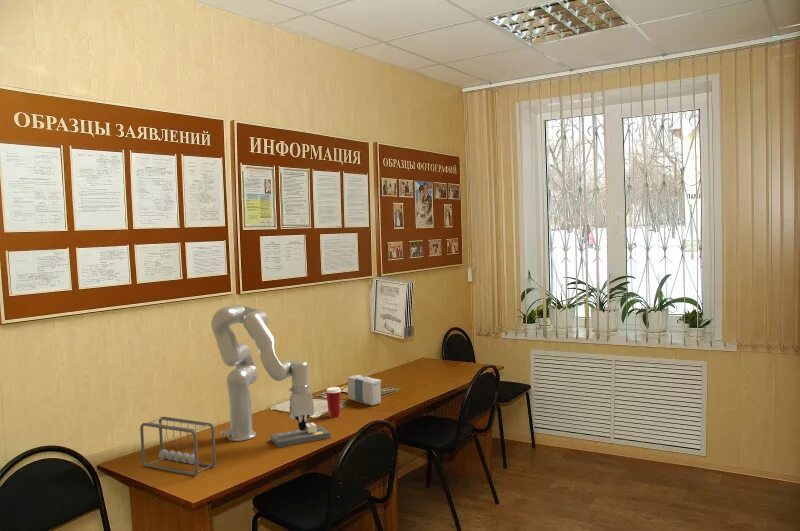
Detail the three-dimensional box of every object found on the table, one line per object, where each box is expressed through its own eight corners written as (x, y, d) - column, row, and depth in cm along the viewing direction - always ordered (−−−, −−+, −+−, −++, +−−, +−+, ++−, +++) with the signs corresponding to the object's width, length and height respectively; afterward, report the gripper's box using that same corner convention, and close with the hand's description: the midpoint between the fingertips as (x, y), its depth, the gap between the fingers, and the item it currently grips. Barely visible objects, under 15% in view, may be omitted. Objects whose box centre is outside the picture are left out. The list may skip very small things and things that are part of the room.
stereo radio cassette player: (347, 400, 339) (346, 364, 338) (359, 397, 344) (358, 362, 343) (371, 407, 323) (369, 369, 322) (383, 404, 328) (381, 367, 328)
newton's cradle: (141, 466, 246) (139, 422, 245) (162, 457, 255) (160, 415, 255) (197, 477, 233) (194, 430, 232) (216, 467, 242) (214, 423, 241)
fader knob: (308, 433, 272) (307, 426, 272) (304, 430, 277) (304, 423, 277) (316, 431, 274) (316, 425, 274) (313, 428, 279) (312, 422, 279)
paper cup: (345, 415, 310) (344, 387, 309) (335, 419, 303) (334, 391, 303) (332, 413, 314) (331, 386, 313) (323, 417, 307) (322, 389, 307)
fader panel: (277, 447, 263) (277, 441, 263) (270, 440, 273) (270, 434, 273) (330, 438, 274) (330, 432, 273) (321, 431, 284) (321, 425, 284)
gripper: (286, 393, 266) (288, 435, 267) (319, 388, 273) (321, 429, 274) (282, 390, 273) (283, 430, 274) (314, 385, 280) (315, 425, 280)
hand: (302, 429), depth 274 cm, fingers closed
